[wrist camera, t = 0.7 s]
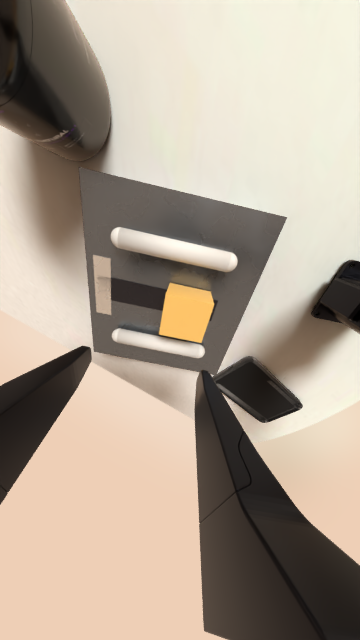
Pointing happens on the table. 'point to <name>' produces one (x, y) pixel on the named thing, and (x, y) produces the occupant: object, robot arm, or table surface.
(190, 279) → the panel
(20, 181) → the table surface
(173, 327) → the block
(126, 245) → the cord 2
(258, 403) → the phone
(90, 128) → the supplement bottle
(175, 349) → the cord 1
